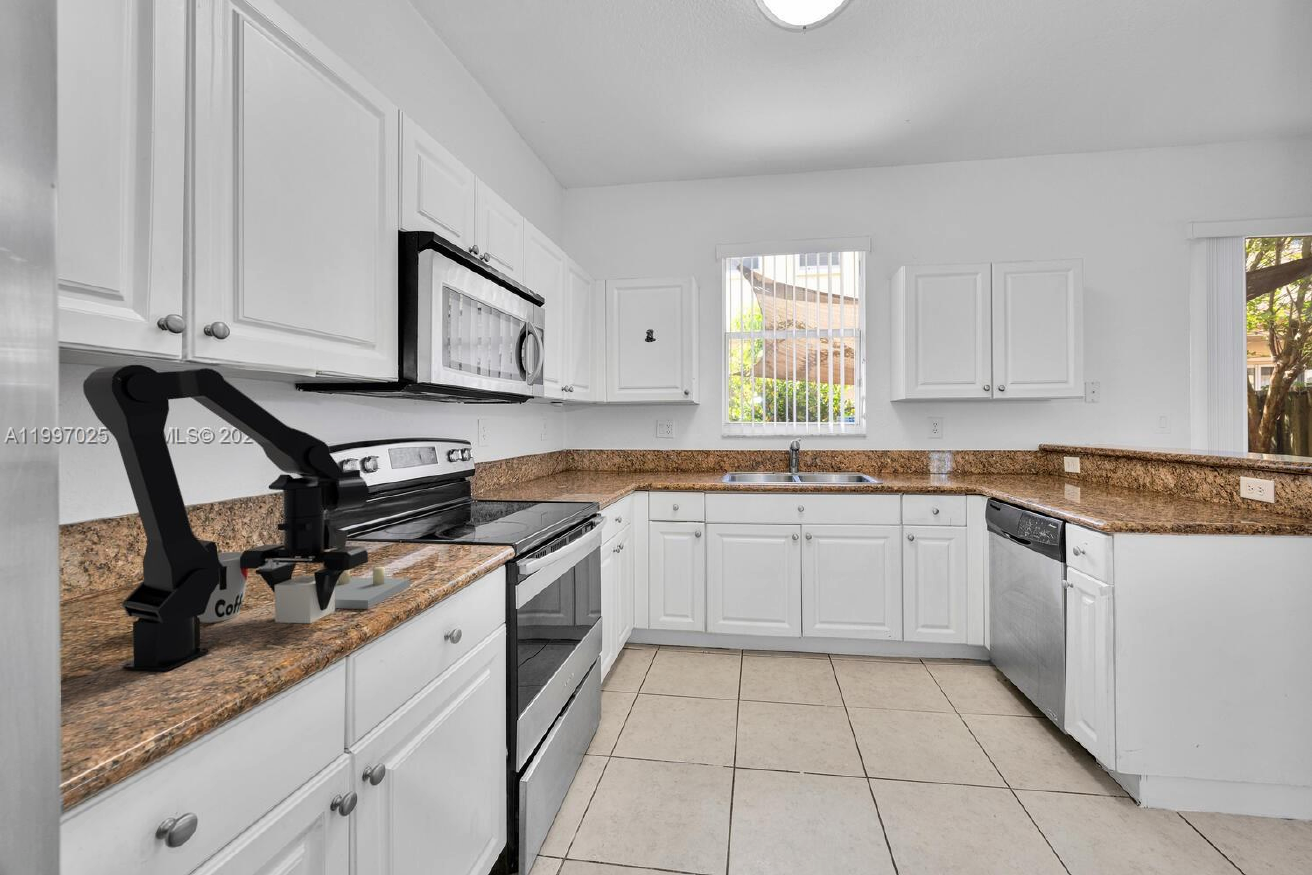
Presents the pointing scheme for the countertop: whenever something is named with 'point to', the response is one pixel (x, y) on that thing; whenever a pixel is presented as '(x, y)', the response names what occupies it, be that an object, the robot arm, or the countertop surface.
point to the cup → (227, 590)
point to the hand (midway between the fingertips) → (305, 609)
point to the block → (299, 601)
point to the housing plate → (366, 589)
